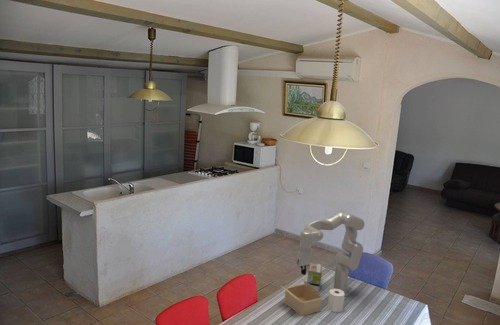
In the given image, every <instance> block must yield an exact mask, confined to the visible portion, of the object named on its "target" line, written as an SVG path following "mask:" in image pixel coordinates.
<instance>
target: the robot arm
mask: <svg viewBox="0 0 500 325" xmlns="http://www.w3.org/2000/svg"><path fill="white" fill-rule="evenodd" d="M341 225H344V227H345V233H344V236H343V239H342V243H341V249H342V250H343V251H339V252H337V253H336V255H335V256H334V260H335V272H334V279H333V280H334V281H333V287H332V288H331V289H334V288H335V289H340V290H342V291H343V292H344V293H345V295H344V298H346V297H348V296H349V291H348V290H352V286H348V280H349V272H350V271H356V270H357V268H358V267H359V265H360V261H361V258H362V255H363V252H364V247H363V245H362V243H360V242H358V241H357V237H358V231H361V230H363V229H364V227H365V220H364V219H362V218H360V217H358V216H356V215H353V214H351V213H350V212H346V211H343V210H339V211H337V212H336V213H334V214H332V215H331V216H329V217H328V218H325V219H318V220H314V221H312V222H311V223H309V224H307V225H306V226H305V227H304V228H303V230H301V232H300V239H299V250H298V251H297V255H296V260H295V261H296V262H295V264H296V267H297V268H301V270H300V273H301V275H303V276H306V275H307V269H308V268H309V265H311V263H313V262H312V261H313V252H312V248H313V245H312V242H320V241H322V240H323V238H324V233H323V231H333V230H334V229H335V230H336V228H338V227H340V226H341Z"/></svg>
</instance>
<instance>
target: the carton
mask: <svg viewBox="0 0 500 325" xmlns="http://www.w3.org/2000/svg"><path fill="white" fill-rule="evenodd" d="M286 289H287V290H288V291H289V292H290V293H292V294H293V295H294V296H295V297H296V298H298V299H299V300H300V301H301V302H300V301H299V300H297V299H295V298H294V297H293V296H292V295H291V294H290V293H288V292H287V291H286V290H285V289H284V290H285V291H284V303H286V304H287V306H289V308H291V309H292V311H293V310H295V311H294V312H295V313H297V314H298V316H300V317H304V316H308V314H309V315H311V314H316V313H319V312H322V310H321V307H322V300H323V299H322V296H320V295H318V294H317V293H316V292H314V291H313V290H312V289H310V288H309V287H307V285H305V283H302V284H297V285H293V286H289V287H286ZM315 312H316V313H315Z"/></svg>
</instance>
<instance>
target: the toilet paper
mask: <svg viewBox="0 0 500 325" xmlns="http://www.w3.org/2000/svg"><path fill="white" fill-rule="evenodd" d="M333 288H334V287H333ZM344 295H345V293H344V292H343V291H342V290H340V289H335V288H334V289H332V288H330V289H329V290H328V299H327V309H328V310H329V311H331V312H333V313H341V312H342V311H344V310H343V309H344V302H345V297H344Z"/></svg>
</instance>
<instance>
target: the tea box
mask: <svg viewBox="0 0 500 325" xmlns="http://www.w3.org/2000/svg"><path fill="white" fill-rule="evenodd" d="M307 272H308V273H307V281H306V282H307V283H309V284H310V285H311V286H313V287H314V288H315V289H317V290H318V291H321V290H320V289H321V282H322V274H323V264H320V263H315V262H312V263H311V265H309V266H308V271H307ZM306 286H307V285H306ZM307 287H308V286H307ZM310 289H311V288H310ZM311 290H312V289H311Z"/></svg>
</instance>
